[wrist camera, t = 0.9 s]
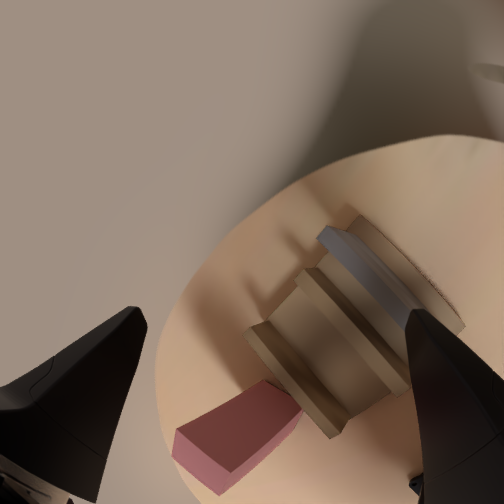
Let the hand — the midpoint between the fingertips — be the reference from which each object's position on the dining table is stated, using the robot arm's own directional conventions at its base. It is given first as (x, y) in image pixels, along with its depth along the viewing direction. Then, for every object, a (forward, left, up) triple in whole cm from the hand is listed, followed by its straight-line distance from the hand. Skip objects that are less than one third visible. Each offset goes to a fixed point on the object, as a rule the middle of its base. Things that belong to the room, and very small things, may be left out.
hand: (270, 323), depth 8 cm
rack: (-2, +2, -12) cm, 12 cm away
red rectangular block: (-3, +12, -12) cm, 17 cm away
